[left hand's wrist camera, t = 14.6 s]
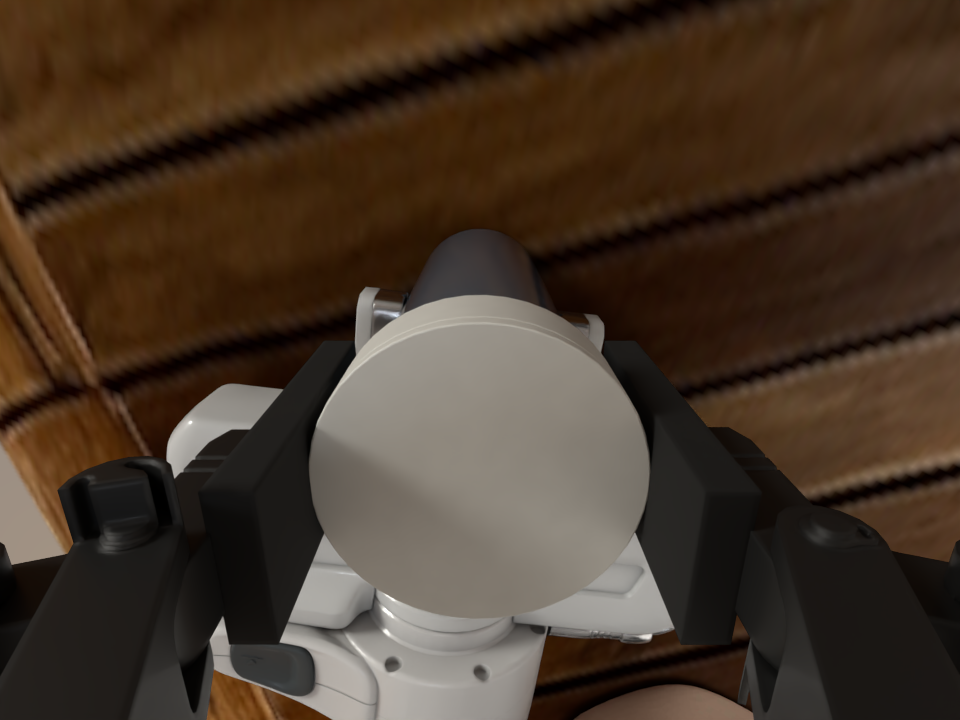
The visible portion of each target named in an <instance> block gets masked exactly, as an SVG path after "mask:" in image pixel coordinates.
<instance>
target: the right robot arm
mask: <svg viewBox="0 0 960 720" xmlns="http://www.w3.org/2000/svg"><path fill="white" fill-rule="evenodd" d="M407 300H408V292H400V291H393V290H386V289H380V288H371V287H366V288H365V289H364V290H363V291H362V292H361V293H360V296H359V300H358V305H357V316H356V335H355V348H356V356H357V354H358V353H359V351H360V350H361V349H362V348H363V346H364V345H365V344H366V343H367V342H368V341H369V340H370V339H371V338H372V337H373V336H374V335H375V334H376V333H377V332H378V331H380V330H381V329H382V328H383V327H385V326H386V325H387V324H388V323H390V322H391V321H393V320H395V319H396V318H398V317H399V316H400V314H401V312H402V310H403V308H404V306H405V304H406V302H407ZM558 313H559V315H560V317H562V318H563V319H565V320H566V321H568V322H569V323H570V324H572V325H573V326H574V327H576V328H577V329H579V330H580V331H581V332H582V333H583V334H584V335H585V336H586V337H587V338H588V339H589V340H590V341H591V342H592V343H593V344H594V345H595V346H596V348H597V349H598V350H599V351H600V353H601V349H602V345H603V340H604V323H603V322H602V321H601V319H600V318H599V317H598V315H591V314H583V313H574V312H565V311H558ZM283 390H284V389H275V388H266V387H257V386H249V385H241V384H226V385H224V386H221V387H220V388H218V389H217V390H215V391H214V392H213V393H212V394H210V395H209V396H208V397H206V398H205V399H204V400H203V401H201V402H200V403H199V404H197V405H196V406H195V407H194V408H193V409H192V410H191V411H190V412H189V413H188V414H187V415H186V416H185V417H184V418H183V419H182V421H181V422H180V423H179V424H178V425H177V427H176V428H175V429H174V431H173V433H172V434H171V437H170V439H169V442H168V447H167V462H168V463H170V464H171V466H172V470H173V475H174V479H175V478H176V477H177V475H178V474H179V473H180V472H183V471H184V468H185V467H186V466H187V465H188V464H189V463H190V462H191V461H192V460H195V456H196V455H197V454H198V453H199V452H200V451H201V450H202V449H203V448H204V447H205V446H206V445H207V444H208V443H209V442H210V441H212V440H213V439H215V438H217V437H219V436H220V435H222V434H224V433H226V432H228V431H229V430H231V429H251V428H252V427H253V425H254V424H255V423H256V422H257V421H258V419H259V418H260V417H261V416H262V415H263V413H264V412H265V411H266V410H267V409H268V407H269V406H270V405H271V404H272V403H273V401H274V400H275V399H276V398H277V397H278V396H279V394H280V393H281V392H282V391H283ZM672 630H674V626H673V624H672V621H671V619H670V616H669V614H668V611H667V609H666V607H665V604H664V602H663V599H662V597H661V594H660V592H659V590H658V587H657V585H656V582H655V580H654V577H653V575H652V573H651V570H650V568H649V565H648V563H647V560H646V558H645V555H644V553H643V551H642V548H641V546H640V543H639V541H638V538H637V536H636V534H635V533H634V535H633V537H632V538H631V540H630V542H629V544H628V545H627V547H626V548H625V549H624V550H623V552H622V553H621V554H620V556H619V557H618V558H617V560H616V561H615V562H614V563H613V564H612V565H611V566H610V567H609V568H608V569H607V570H606V571H605V572H604V573H603V574H602V575H600V576H599V577H598V578H597V579H595V580H594V581H593V582H592V583H590V584H589V585H588V586H586V587H585V588H583V589H581V590H580V591H578V592H577V593H575V594H573V595H572V596H570V597H568V598H566V599H564V600H562V601H559V602H557V603H555V604H553V605H550V606H548V607H545V608H542V609H539V610H536V611H533V612H529V613H524V614H520V615H516V616H509V617H501V618H488V619H470V618H458V617H450V616H445V615H439V614H434V613H430V612H427V611H424V610H420V609H417V608H414V607H411V606H409V605H407V604H404V603H402V602H399V601H397V600H395V599H393V598H391V597H390V596H388V595H386V594H384V593H382V592H381V591H379V590H377V589H376V588H375V587H373V586H372V585H370V584H369V583H368V582H366V581H365V580H363V579H362V578H361V577H360V576H359V575H358V574H357V573H356V572H354V571H353V570H352V569H351V568H350V567H349V566H348V565H347V564H346V563H345V561H344V560H343V559H342V558H341V557H340V556H339V554H338V553H337V552H336V551H335V549H334V548H333V546H332V545H331V543H330V542H329V540H328V538H327V537H326V535H325V533H324V535H323V538H322V540H321V543H320V545H319V547H318V550H317V552H316V555H315V557H314V560H313V562H312V564H311V567H310V569H309V572H308V574H307V577H306V579H305V581H304V584H303V586H302V589H301V591H300V594H299V596H298V599H297V601H296V603H295V606H294V608H293V611H292V613H291V616H290V618H289V620H288V623H287V625H286V628H285V630H284V633H283V635H282V637H281V640H280V642H279V645H229V642H228V637H227V632H226V628H225V623H224V618H223V617H222V619H221V621H220V623H219V624H218V626H217V628H216V630H215V632H214V633H213V635H212V637H211V639H210V643H211V648H212V652H213V660H214V669H215V670H216V671H218V672H221V673H223V674H226V675H228V676H231V677H234V678H237V679H240V680H243V681H246V682H249V683H252V684H255V685H258V686H261V687H264V688H266V689H269V690H272V691H274V692H277V693H280V694H282V695H285V696H287V697H289V698H292V699H294V700H296V701H298V702H301V703H303V704H305V705H307V706H309V707H311V708H313V709H315V710H317V711H319V712H320V713H322V714H324V715H326V716H327V717H329V718H331V719H332V720H527V719H528V715H529V711H530V707H531V703H532V698H533V694H534V689H535V685H536V680H537V676H538V671H539V666H540V661H541V657H542V653H543V648H544V644H545V639H546V637H547V635H548V636H558V637H569V638H579V639H589V638H590V639H595V638H606V639H608V638H609V639H617V640H618V641H620V642H624V643H631V644H642V643H648V642H650V641H651V639H652V635H660V634H664V633H667V632H670V631H672Z"/></svg>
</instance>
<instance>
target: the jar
mask: <svg viewBox="0 0 960 720" xmlns="http://www.w3.org/2000/svg"><path fill="white" fill-rule="evenodd" d="M465 295H491V296H501V297H508V298H513V299H517V300H521V301H525V302H529V303H531V304H534V305H537V306H539V307H542V308H544V309H547V310H549V311H550V312H552V313H554V314H556V315H558V316H560V315H559V313H558V311H557V309H556V307H555V305H554V303H553V301H552V299H551V297H550V295H549V293H548V291H547V289H546V287H545V285H544V283H543V281H542V279H541V277H540V275H539V273H538V271H537V269H536V267H535V265H534V263H533V261H532V259H531V257H530V256H529V254H528V253H527V252H526V250H525V249H524V248H523V247H522V246H521V245H520V244H519V243H518V242H516V241H515V240H514V239H512V238H510V237H509V236H507V235H505V234H502V233H500V232H497V231H493V230H487V229H472V230H466V231H463V232H460V233H457V234H455V235H453V236H451V237H449V238H447V239H446V240H444V241H443V242H442V243H441V244H440V245H438V246H437V248H436V249H435V250H434V251H433V252H432V254H431V255H430V256H429V258H428V260H427V262H426V264H425V266H424V268H423V270H422V272H421V274H420V276H419V278H418V280H417V282H416V284H415V286H414V288H413V290H412V292H411V294H410V296H409V298H408V300H407V302H406V304H405V306H404V308H403V310H402V312H401V314H400V316H401V315H403V314H404V313H406V312H408V311H411V310H413V309H415V308H418V307H420V306H422V305H424V304H428V303H431V302H435V301H438V300H441V299H445V298H452V297H458V296H465ZM400 316H399V317H400Z"/></svg>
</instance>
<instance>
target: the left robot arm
mask: <svg viewBox="0 0 960 720" xmlns="http://www.w3.org/2000/svg"><path fill="white" fill-rule="evenodd" d="M355 357H356V348H355V341H324V342H323V343H322V344H321V345H320V346H319V348H318V349H317V350H316V351H315V352H314V354H313V355H312V356H311V357H310V358H309V360H308V361H307V362H306V363H305V364H304V366H303V367H302V368H301V369H300V370H299V372H298V373H297V374H296V375H295V376H294V378H293V379H292V380H291V381H290V382H289V384H288V385H287V386H286V387H285V388H284V390H283V391H282V392H281V393H280V394H279V396H278V397H277V398H276V399H275V400H274V401H273V403H272V404H271V405H270V406H269V407H268V409H267V410H266V411H265V412H264V413H263V415H262V416H261V417H260V418H259V419H258V421H257V422H256V423H255V424H254V425H253V427H252V428H251V429H231V430H229V431H228V432H226V433H224V434H222V435H220V436H219V437H217V438H215V439H213V440H212V441H210V442H209V443H208V444H207V445H206V446H205V447H204V448H203V449H202V450H201V451H200V452H199V453H198V454H197V455H196V456H195V460H192V461H191V462H190V463H189V464H188V465H187V466H186V467H185V468H184V471H183V472H180V473H179V474H178V475H177V477H176V478H175V479H174V475H173V470H172V466H171V464H170V463H168V462H167V461H166V460H164V459H162V458H156V457H150V456H141V457H127V458H123V459H118V460H113V461H109V462H106V463H103V464H100V465H97V466H95V467H92V468H89V469H86V470H85V471H83V472H81V473H79V474H77V475H76V476H74V477H72V478H70V479H69V480H68V481H67V482H66V483H64V484H63V485H62V486H61V487H60V488H59V489H58V490H57V491H58V494H59V497H60V500H61V504H62V507H63V510H64V513H65V517H66V520H67V523H68V526H69V530H70V533H71V536H72V540H73V543H74V544H73V545H72V547H71V549H70V551H69V553H68V554H65V555H60V556H55V557H50V558H45V559H40V560H35V561H30V562H24V563H19V564H14V565H11V562H10V559H9V556H8V554H7V551H6V548H5V545H4V544H2V543H1V542H0V720H206V719H207V712H208V705H209V698H210V691H211V684H212V677H213V670H214V660H213V652H212V648H211V643H210V639H211V637H212V635H213V633H214V632H215V630H216V628H217V626H218V624H219V623H220V621H221V619H222V617H223V618H224V623H225V628H226V632H227V637H228V642H229V645H279V642H280V640H281V637H282V635H283V633H284V630H285V628H286V625H287V623H288V620H289V618H290V616H291V613H292V611H293V608H294V606H295V603H296V601H297V599H298V596H299V594H300V591H301V589H302V586H303V584H304V581H305V579H306V577H307V574H308V572H309V569H310V567H311V564H312V562H313V560H314V557H315V555H316V552H317V550H318V547H319V545H320V543H321V540H322V538H323V535H324V531H323V529H322V527H321V525H320V523H319V521H318V519H317V516H316V512H315V509H314V506H313V501H312V493H311V485H310V476H309V463H308V460H309V453H310V447H311V440H312V437H313V434H314V431H315V428H316V425H317V421H318V419H319V417H320V415H321V413H322V411H323V409H324V407H325V405H326V403H327V401H328V400H329V398H330V396H331V395H332V393H333V392H334V390H335V388H336V387H337V385H338V384H339V382H340V380H341V379H342V377H343V376H344V374H345V372H346V371H347V369H348V367H349V366H350V364H351V363H352V361H353V360H354V358H355ZM603 357H604V358H605V359H606V361H607V363H608V364H609V366H610V367H611V369H612V371H613V372H614V374H615V376H616V377H617V379H618V380H619V382H620V384H621V385H622V387H623V389H624V390H625V392H626V393H627V395H628V397H629V399H630V400H631V402H632V404H633V406H634V407H635V409H636V411H637V413H638V415H639V417H640V420H641V423H642V425H643V428H644V430H645V433H646V438H647V442H648V447H649V452H650V466H651V473H650V481H649V490H648V498H647V502H646V506H645V510H644V513H643V515H642V518H641V520H640V523H639V525H638V528H637V530H636V531H635V534H636V536H637V538H638V541H639V543H640V546H641V548H642V551H643V553H644V555H645V558H646V560H647V563H648V565H649V568H650V570H651V573H652V575H653V577H654V580H655V582H656V585H657V587H658V590H659V592H660V594H661V597H662V599H663V602H664V604H665V607H666V609H667V611H668V614H669V616H670V619H671V621H672V624H673V626H674V629H675V631H676V633H677V636H678V638H679V641H680V643H681V645H731V640H732V636H733V631H734V626H735V621H736V616H737V615H738V617H739V618H740V620H741V622H742V624H743V626H744V627H745V629H746V631H747V633H748V635H749V636H750V638H751V639H750V643H749V648H748V652H747V657H746V662H745V666H744V671H743V675H742V680H741V684H740V689H739V695H738V703H739V704H743V705H746V701H747V697H748V692H750V697H751V704H752V711H753V718H754V720H960V540H959V541H957V542H956V544H955V547H954V549H953V552H952V555H951V558H950V561H949V562H944V561H939V560H934V559H929V558H924V557H919V556H913V555H908V554H903V553H898V552H894V551H891V550H890V548H889V546H888V544H887V543H886V541H885V540H884V539H883V538H882V537H881V536H880V535H879V533H878V532H877V531H876V530H875V529H873V528H872V527H870V526H869V525H867V524H866V523H864V522H863V521H861V520H860V519H857V518H855V517H853V516H850V515H848V514H846V513H843V512H841V511H838V510H834V509H830V508H826V507H822V506H816V505H812V504H811V503H810V502H809V501H808V500H807V498H806V497H805V496H804V495H803V494H802V493H801V492H800V491H799V490H798V489H797V488H796V487H795V486H794V485H793V484H792V483H791V482H790V481H789V480H788V479H787V477H786V476H785V475H784V474H783V473H782V472H781V471H780V470H777V469H776V466H775V465H774V464H773V463H772V462H771V461H770V460H769V459H768V458H765V454H764V453H763V452H762V451H761V450H760V449H759V448H758V447H757V446H756V445H755V444H754V443H753V442H752V441H751V440H750V439H748V438H747V437H745V436H743V435H741V434H739V433H738V432H736V431H734V430H732V429H730V428H729V427H707V426H706V425H705V423H704V422H703V421H702V420H701V419H700V417H699V416H698V415H697V414H696V413H695V411H694V410H693V409H692V408H691V407H690V405H689V404H688V403H687V402H686V401H685V400H684V398H683V397H682V396H681V395H680V394H679V392H678V391H677V390H676V389H675V388H674V386H673V385H672V384H671V383H670V382H669V380H668V379H667V378H666V377H665V376H664V374H663V373H662V372H661V371H660V370H659V368H658V367H657V366H656V365H655V364H654V362H653V361H652V360H651V359H650V358H649V356H648V355H647V354H646V353H645V352H644V350H643V349H642V348H641V347H640V346H639V344H638V343H637V342H636V341H605V344H604V356H603Z"/></svg>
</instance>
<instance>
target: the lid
mask: <svg viewBox="0 0 960 720" xmlns="http://www.w3.org/2000/svg"><path fill="white" fill-rule="evenodd" d="M308 463H309V476H310V485H311V493H312V501H313V506H314V509H315V512H316V516H317V519H318V521H319V523H320V525H321V527H322V529H323V531H324V533H325V535H326V537H327V538H328V540H329V542H330V543H331V545H332V546H333V548H334V549H335V551H336V552H337V553H338V554H339V556H340V557H341V558H342V559H343V560H344V561H345V563H346V564H347V565H348V566H349V567H350V568H351V569H352V570H353V571H354V572H356V573H357V574H358V575H359V576H360V577H361V578H362V579H363V580H365V581H366V582H368V583H369V584H370V585H372V586H373V587H375V588H376V589H377V590H379V591H381V592H382V593H384V594H386V595H388V596H390V597H391V598H393V599H395V600H397V601H399V602H402V603H404V604H407V605H409V606H411V607H414V608H417V609H420V610H424V611H427V612H430V613H434V614H439V615H445V616H450V617H458V618H470V619H488V618H501V617H509V616H516V615H520V614H524V613H529V612H533V611H536V610H539V609H542V608H545V607H548V606H550V605H553V604H555V603H557V602H559V601H562V600H564V599H566V598H568V597H570V596H572V595H573V594H575V593H577V592H578V591H580V590H581V589H583V588H585V587H586V586H588V585H589V584H590V583H592V582H593V581H594V580H595V579H597V578H598V577H599V576H600V575H602V574H603V573H604V572H605V571H606V570H607V569H608V568H609V567H610V566H611V565H612V564H613V563H614V562H615V561H616V560H617V558H618V557H619V556H620V554H621V553H622V552H623V550H624V549H625V548H626V547H627V545H628V544H629V542H630V540H631V538H632V537H633V535H634V533H635V531H636V530H637V528H638V525H639V523H640V520H641V518H642V515H643V513H644V510H645V506H646V502H647V498H648V490H649V481H650V473H651V466H650V452H649V447H648V442H647V438H646V433H645V430H644V428H643V425H642V423H641V420H640V417H639V415H638V413H637V411H636V409H635V407H634V406H633V404H632V402H631V400H630V399H629V397H628V395H627V393H626V392H625V390H624V389H623V387H622V385H621V384H620V382H619V380H618V379H617V377H616V376H615V374H614V372H613V371H612V369H611V367H610V366H609V364H608V363H607V361H606V359H605V358H604V357H603V355H602V354H601V353H600V351H599V350H598V349H597V348H596V346H595V345H594V344H593V343H592V342H591V341H590V340H589V339H588V338H587V337H586V336H585V335H584V334H583V333H582V332H581V331H580V330H579V329H577V328H576V327H574V326H573V325H572V324H570V323H569V322H568V321H566V320H565V319H563V318H562V317H560V316H558V315H556V314H554V313H552V312H550V311H549V310H547V309H544V308H542V307H539V306H537V305H534V304H531V303H529V302H525V301H521V300H517V299H513V298H508V297H501V296H491V295H465V296H458V297H452V298H445V299H441V300H438V301H435V302H431V303H428V304H424V305H422V306H420V307H418V308H415V309H413V310H411V311H408V312H406V313H404V314H403V315H401V316H400V317H398V318H396V319H395V320H393V321H391V322H390V323H388V324H387V325H386V326H385V327H383V328H382V329H381V330H380V331H378V332H377V333H376V334H375V335H374V336H373V337H372V338H371V339H370V340H369V341H368V342H367V343H366V344H365V345H364V346H363V348H362V349H361V350H360V351H359V353H358V354H357V356H356V357H355V358H354V360H353V361H352V363H351V364H350V366H349V367H348V369H347V371H346V372H345V374H344V376H343V377H342V379H341V380H340V382H339V384H338V385H337V387H336V388H335V390H334V392H333V393H332V395H331V396H330V398H329V400H328V401H327V403H326V405H325V407H324V409H323V411H322V413H321V415H320V417H319V419H318V421H317V425H316V428H315V431H314V434H313V437H312V440H311V447H310V453H309V460H308Z"/></svg>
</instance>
